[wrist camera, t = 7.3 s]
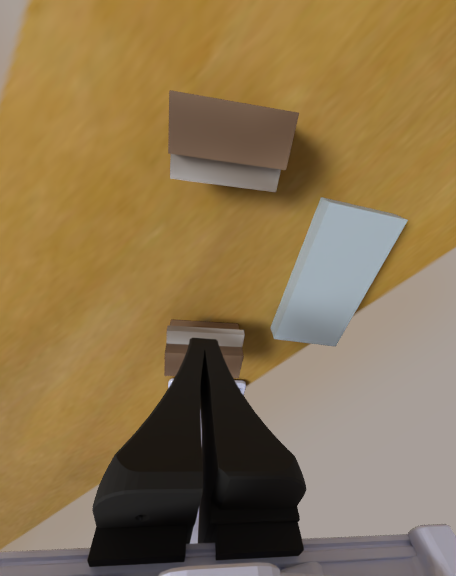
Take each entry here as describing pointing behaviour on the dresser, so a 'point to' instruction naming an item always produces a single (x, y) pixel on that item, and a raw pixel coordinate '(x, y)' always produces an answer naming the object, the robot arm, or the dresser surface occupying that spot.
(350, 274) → the cover plate
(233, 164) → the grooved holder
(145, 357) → the dresser surface
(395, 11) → the dresser surface
